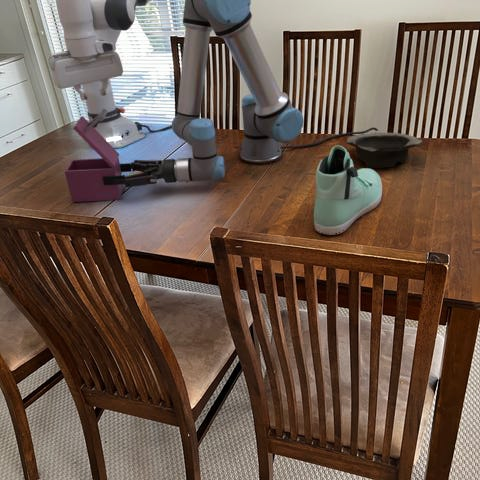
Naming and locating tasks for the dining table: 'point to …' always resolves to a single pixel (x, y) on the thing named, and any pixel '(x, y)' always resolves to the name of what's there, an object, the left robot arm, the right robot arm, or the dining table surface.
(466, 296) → the dining table surface
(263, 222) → the dining table surface
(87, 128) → the lid
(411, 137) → the stone bowl
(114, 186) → the chest
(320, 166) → the sneaker
